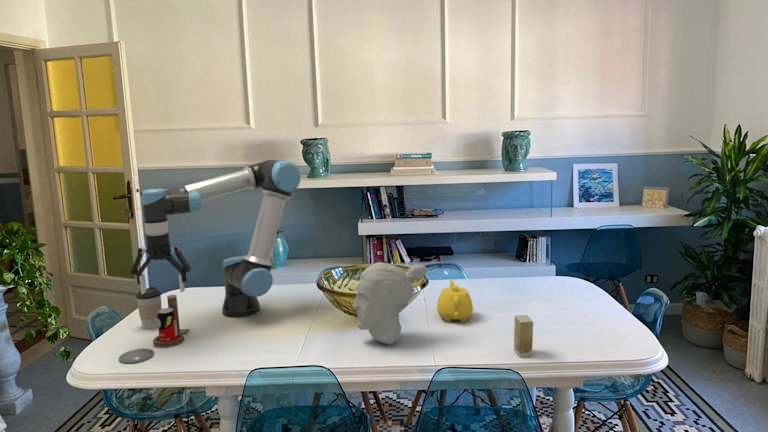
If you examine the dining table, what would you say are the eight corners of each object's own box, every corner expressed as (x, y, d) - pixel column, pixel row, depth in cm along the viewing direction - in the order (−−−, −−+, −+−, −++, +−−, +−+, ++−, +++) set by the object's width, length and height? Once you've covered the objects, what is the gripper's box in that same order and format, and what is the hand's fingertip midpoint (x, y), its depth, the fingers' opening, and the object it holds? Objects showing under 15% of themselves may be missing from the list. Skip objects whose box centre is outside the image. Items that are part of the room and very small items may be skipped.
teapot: (438, 326, 210) (438, 293, 207) (435, 308, 229) (434, 278, 227) (475, 325, 209) (475, 292, 207) (469, 307, 229) (468, 277, 227)
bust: (352, 335, 203) (349, 260, 199) (422, 328, 208) (421, 255, 203) (357, 351, 189) (353, 271, 184) (432, 344, 193) (431, 265, 188)
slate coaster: (158, 349, 196) (158, 347, 196) (147, 363, 185) (147, 361, 185) (126, 351, 195) (126, 349, 195) (113, 364, 185) (113, 363, 184)
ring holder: (191, 330, 213) (188, 293, 210) (179, 346, 198) (175, 306, 195) (164, 331, 212) (160, 294, 210) (149, 348, 197) (145, 308, 195)
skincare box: (513, 350, 186) (513, 314, 184) (526, 349, 187) (526, 314, 185) (519, 358, 180) (520, 321, 178) (532, 357, 180) (533, 321, 178)
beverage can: (164, 338, 206) (160, 307, 204) (181, 338, 205) (178, 307, 203) (156, 345, 199) (153, 313, 197) (174, 345, 199) (170, 313, 197)
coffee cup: (155, 331, 213) (151, 293, 211) (134, 330, 215) (130, 292, 212) (169, 322, 222) (165, 286, 219) (148, 321, 224) (144, 285, 221)
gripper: (196, 230, 200) (201, 287, 203) (125, 232, 199) (131, 290, 203) (190, 234, 192) (195, 293, 196) (116, 237, 191) (123, 296, 195)
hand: (163, 292), depth 199 cm, fingers open, 13 cm apart
